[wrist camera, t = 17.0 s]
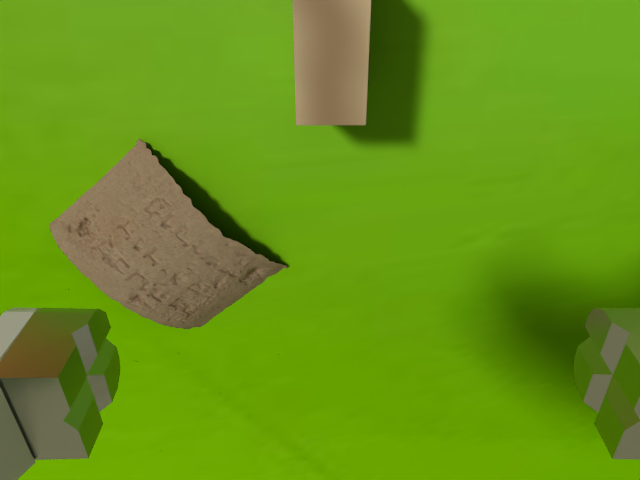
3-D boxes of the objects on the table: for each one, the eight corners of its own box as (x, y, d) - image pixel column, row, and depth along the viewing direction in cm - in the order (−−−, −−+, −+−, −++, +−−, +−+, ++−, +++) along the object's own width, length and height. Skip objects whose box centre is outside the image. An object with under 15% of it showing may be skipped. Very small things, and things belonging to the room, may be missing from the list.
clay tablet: (296, 263, 39) (294, 287, 36) (203, 335, 43) (196, 360, 40) (130, 120, 33) (115, 137, 31) (40, 217, 37) (21, 239, 35)
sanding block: (365, -42, 28) (372, -30, 24) (360, 94, 32) (366, 125, 27) (297, -41, 28) (291, -30, 24) (300, 94, 32) (296, 125, 27)
